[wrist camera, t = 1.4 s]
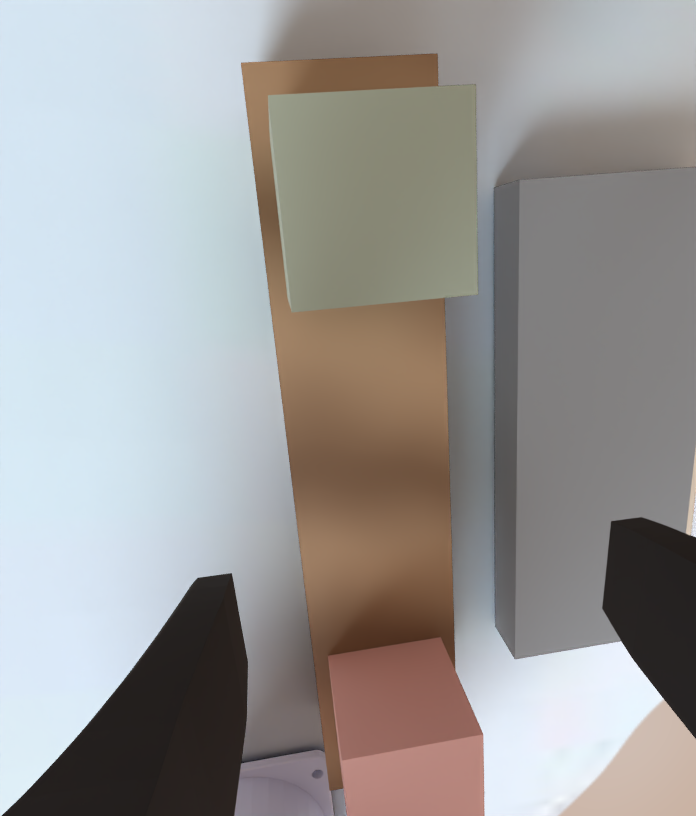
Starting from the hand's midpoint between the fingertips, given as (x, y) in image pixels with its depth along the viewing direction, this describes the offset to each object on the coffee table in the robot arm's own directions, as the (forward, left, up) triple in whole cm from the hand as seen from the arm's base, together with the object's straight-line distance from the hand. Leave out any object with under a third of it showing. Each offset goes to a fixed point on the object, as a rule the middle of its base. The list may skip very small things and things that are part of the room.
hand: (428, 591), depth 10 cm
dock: (-1, -9, -10) cm, 14 cm away
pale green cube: (+7, 0, -7) cm, 10 cm away
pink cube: (-9, 0, -7) cm, 11 cm away
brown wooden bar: (-1, 0, -11) cm, 11 cm away
